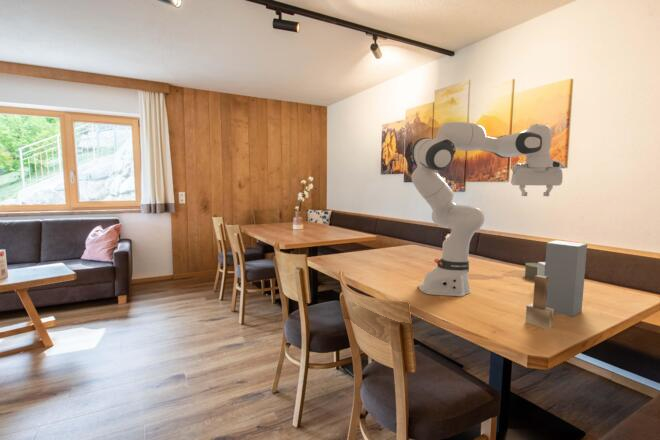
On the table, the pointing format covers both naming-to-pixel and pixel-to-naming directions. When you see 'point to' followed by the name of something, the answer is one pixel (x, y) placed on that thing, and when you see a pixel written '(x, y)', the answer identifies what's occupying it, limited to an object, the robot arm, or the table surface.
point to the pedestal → (565, 276)
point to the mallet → (540, 305)
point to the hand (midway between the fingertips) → (535, 196)
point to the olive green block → (531, 270)
